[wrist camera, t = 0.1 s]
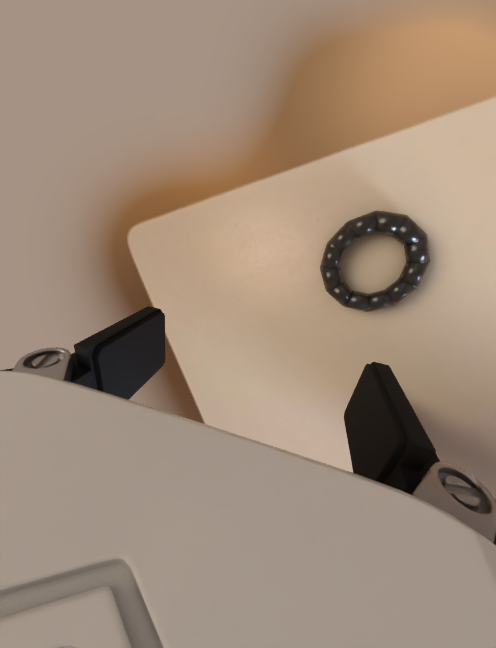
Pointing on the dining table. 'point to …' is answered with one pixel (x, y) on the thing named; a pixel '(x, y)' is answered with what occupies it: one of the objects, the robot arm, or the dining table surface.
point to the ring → (364, 225)
